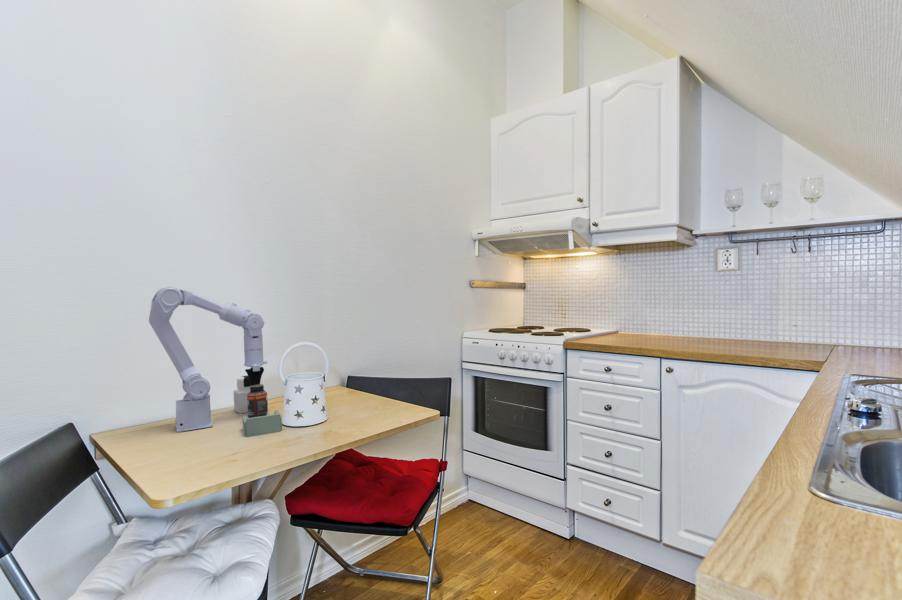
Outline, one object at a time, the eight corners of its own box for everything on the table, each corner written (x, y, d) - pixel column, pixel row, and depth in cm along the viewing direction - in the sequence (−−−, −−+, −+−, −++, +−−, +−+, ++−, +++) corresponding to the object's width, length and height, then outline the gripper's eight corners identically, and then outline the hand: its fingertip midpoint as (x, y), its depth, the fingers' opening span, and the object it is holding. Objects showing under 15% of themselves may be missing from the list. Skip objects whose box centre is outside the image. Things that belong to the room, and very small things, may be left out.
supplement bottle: (272, 418, 146) (271, 383, 146) (260, 423, 141) (258, 387, 140) (256, 417, 148) (255, 383, 148) (244, 422, 142) (242, 387, 142)
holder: (245, 437, 127) (244, 419, 127) (242, 428, 135) (242, 412, 135) (282, 431, 132) (281, 414, 132) (278, 423, 140) (277, 407, 140)
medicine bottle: (255, 406, 163) (253, 373, 163) (261, 410, 158) (259, 376, 158) (234, 410, 159) (232, 376, 159) (239, 414, 153) (238, 379, 153)
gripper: (269, 350, 146) (270, 392, 146) (264, 346, 158) (265, 384, 159) (245, 352, 142) (247, 395, 143) (242, 348, 155) (244, 387, 155)
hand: (255, 389), depth 150 cm, fingers closed
